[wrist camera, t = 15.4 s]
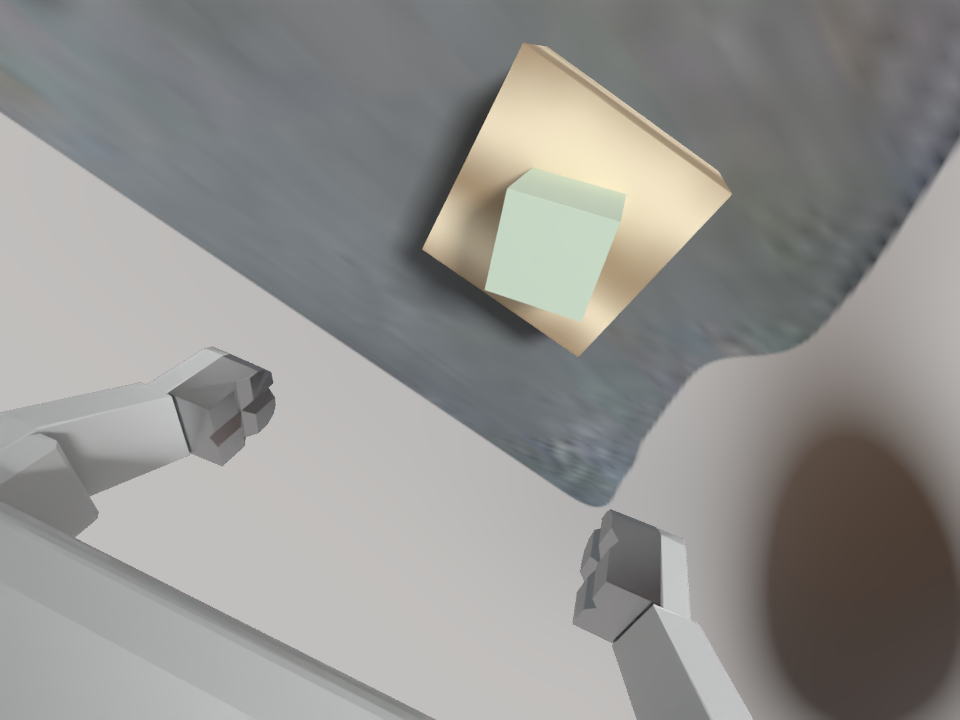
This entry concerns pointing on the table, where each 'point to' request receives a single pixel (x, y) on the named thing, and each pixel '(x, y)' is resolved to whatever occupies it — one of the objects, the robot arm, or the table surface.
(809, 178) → the table surface
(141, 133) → the table surface
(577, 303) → the sage cube
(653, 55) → the table surface
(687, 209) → the beech block
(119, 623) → the robot arm
